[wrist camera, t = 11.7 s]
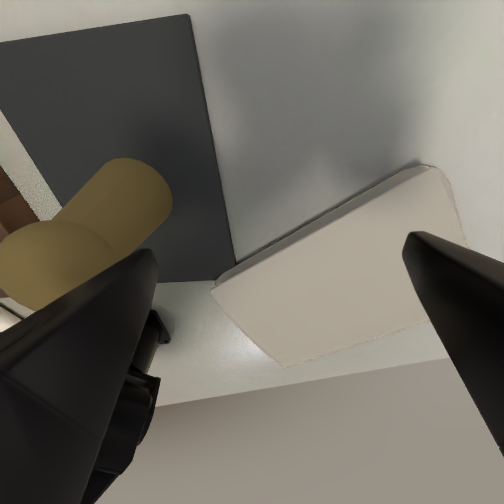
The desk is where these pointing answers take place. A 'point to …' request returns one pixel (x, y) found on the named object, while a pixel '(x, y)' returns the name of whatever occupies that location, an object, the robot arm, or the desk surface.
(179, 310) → the desk surface
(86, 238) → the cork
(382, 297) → the book
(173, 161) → the mat
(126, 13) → the desk surface
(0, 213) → the brown wooden frame
